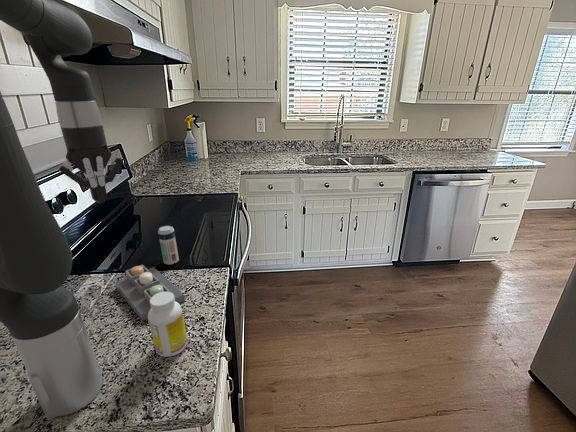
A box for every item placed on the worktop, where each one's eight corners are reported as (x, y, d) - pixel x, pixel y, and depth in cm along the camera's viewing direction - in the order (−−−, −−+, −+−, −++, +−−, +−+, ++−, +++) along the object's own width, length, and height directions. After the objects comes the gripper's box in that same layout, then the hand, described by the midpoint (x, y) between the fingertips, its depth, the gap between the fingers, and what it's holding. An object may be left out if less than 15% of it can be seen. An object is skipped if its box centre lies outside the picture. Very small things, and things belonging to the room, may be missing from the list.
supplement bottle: (191, 334, 72) (183, 287, 67) (183, 357, 65) (173, 308, 60) (161, 335, 71) (151, 288, 66) (150, 359, 65) (138, 309, 60)
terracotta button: (135, 281, 87) (133, 273, 86) (130, 277, 89) (128, 268, 88) (146, 277, 89) (144, 268, 88) (142, 272, 91) (140, 264, 90)
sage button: (154, 303, 78) (152, 294, 77) (149, 297, 80) (147, 288, 79) (166, 297, 80) (165, 288, 79) (161, 292, 82) (159, 283, 81)
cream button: (143, 289, 82) (141, 280, 81) (139, 284, 84) (137, 275, 83) (155, 284, 84) (153, 275, 83) (150, 279, 86) (149, 270, 85)
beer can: (181, 257, 103) (175, 224, 99) (176, 265, 99) (171, 231, 94) (166, 258, 103) (160, 225, 99) (161, 265, 99) (155, 231, 94)
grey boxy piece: (142, 321, 76) (139, 306, 74) (116, 287, 88) (112, 274, 86) (184, 300, 83) (182, 286, 81) (154, 272, 95) (152, 259, 94)
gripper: (46, 128, 59) (71, 213, 65) (121, 122, 67) (136, 198, 74) (39, 125, 64) (63, 204, 70) (110, 120, 72) (125, 191, 79)
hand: (101, 201), depth 72 cm, fingers closed
